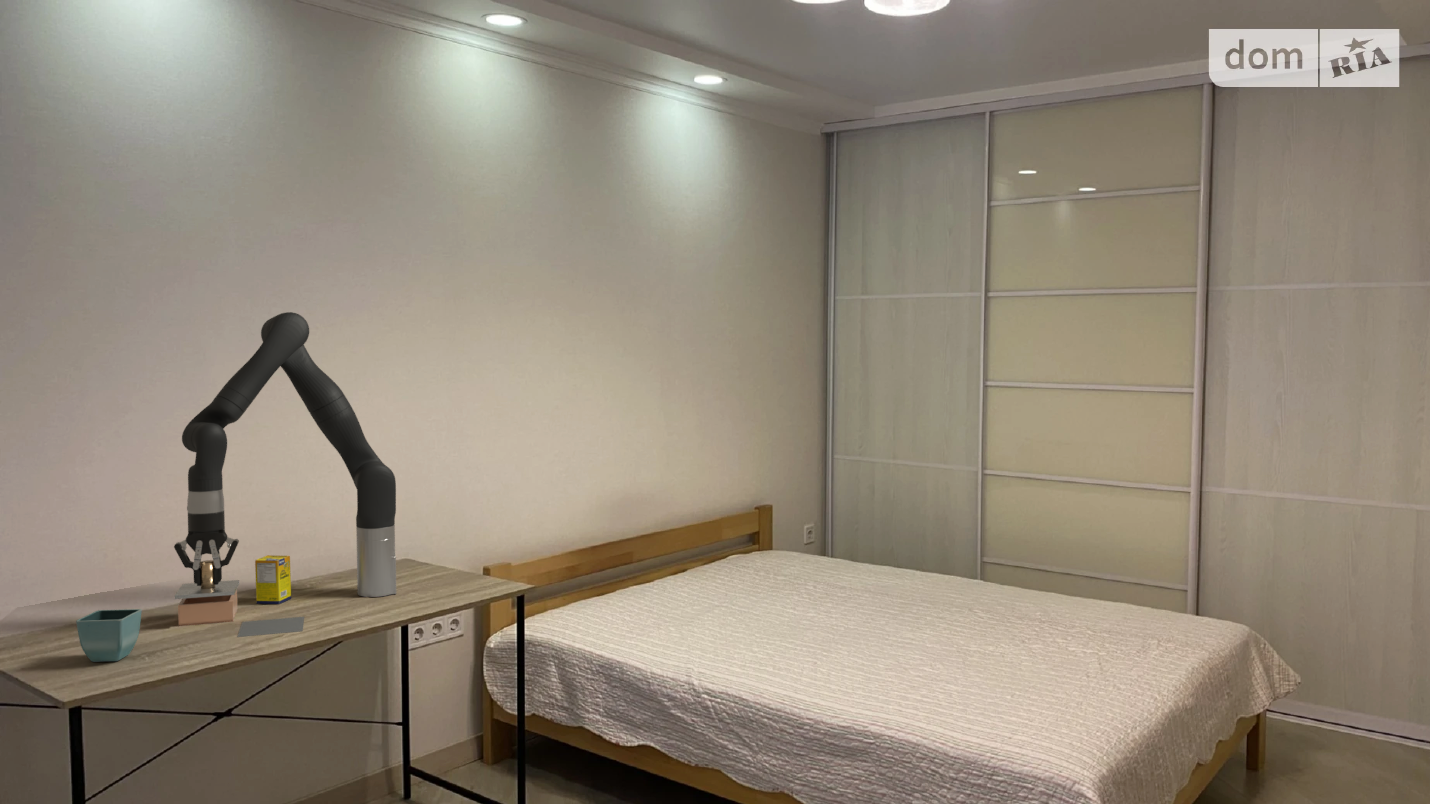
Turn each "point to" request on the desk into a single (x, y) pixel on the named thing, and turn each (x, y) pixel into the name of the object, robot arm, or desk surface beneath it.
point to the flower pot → (109, 633)
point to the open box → (207, 610)
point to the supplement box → (273, 579)
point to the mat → (271, 626)
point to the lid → (207, 584)
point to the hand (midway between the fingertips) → (207, 584)
